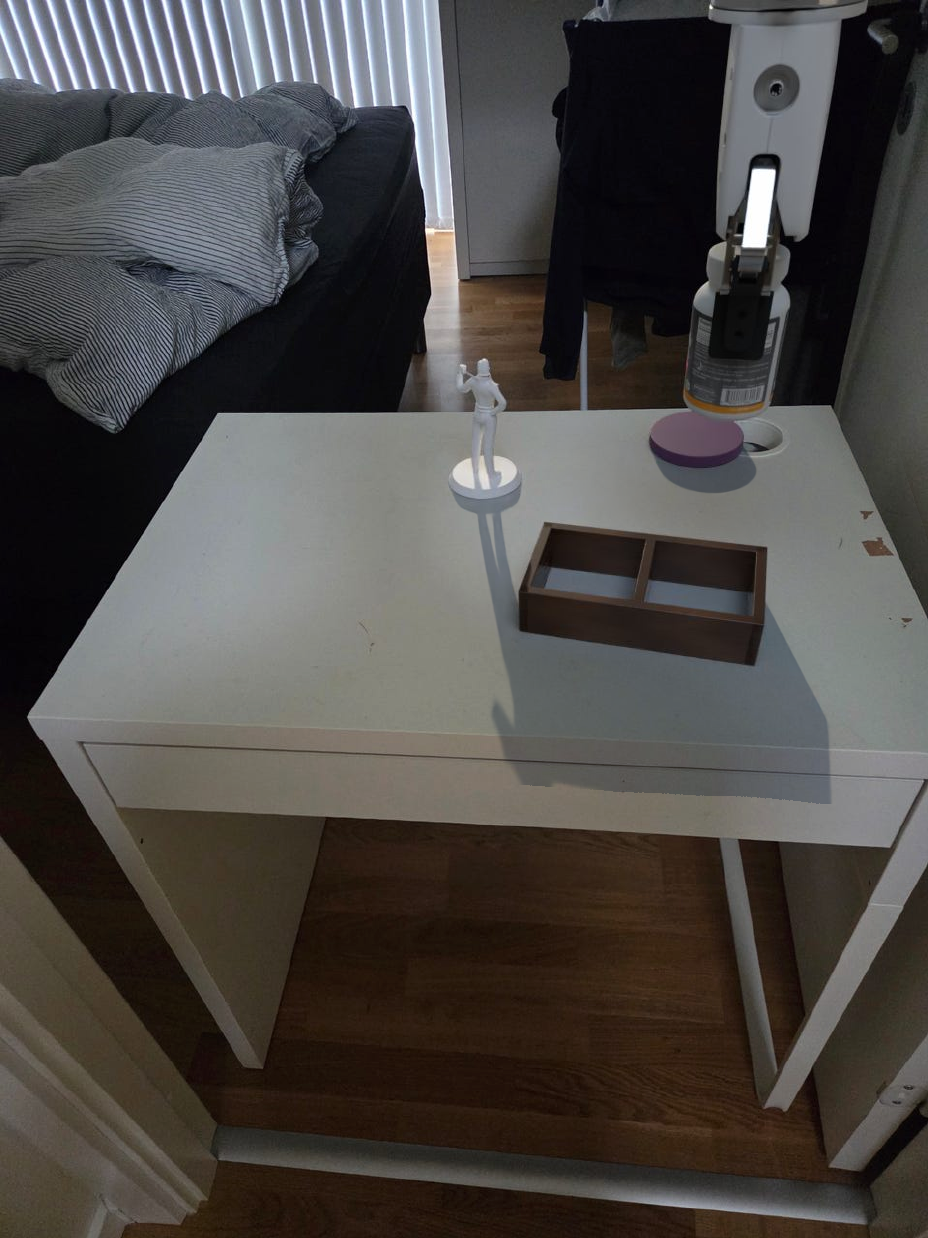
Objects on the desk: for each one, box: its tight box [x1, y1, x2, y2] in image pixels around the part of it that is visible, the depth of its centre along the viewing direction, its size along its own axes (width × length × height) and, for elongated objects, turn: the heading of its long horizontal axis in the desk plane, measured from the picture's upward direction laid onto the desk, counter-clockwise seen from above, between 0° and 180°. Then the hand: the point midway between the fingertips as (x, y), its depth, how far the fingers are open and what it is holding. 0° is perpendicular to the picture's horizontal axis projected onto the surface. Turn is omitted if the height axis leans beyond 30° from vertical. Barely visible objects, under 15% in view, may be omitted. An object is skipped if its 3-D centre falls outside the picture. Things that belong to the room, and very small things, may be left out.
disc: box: [648, 410, 745, 468], centre depth 83 cm, size 9×9×1 cm
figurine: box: [448, 358, 523, 500], centre depth 77 cm, size 7×7×12 cm
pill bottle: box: [683, 241, 791, 422], centre depth 53 cm, size 6×6×10 cm
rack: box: [517, 521, 769, 667], centre depth 64 cm, size 17×9×4 cm, turn 74°
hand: (737, 332), depth 53 cm, fingers closed on pill bottle, 5 cm apart
